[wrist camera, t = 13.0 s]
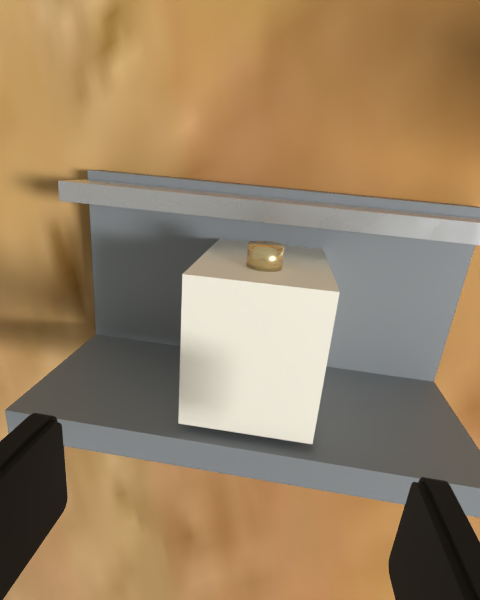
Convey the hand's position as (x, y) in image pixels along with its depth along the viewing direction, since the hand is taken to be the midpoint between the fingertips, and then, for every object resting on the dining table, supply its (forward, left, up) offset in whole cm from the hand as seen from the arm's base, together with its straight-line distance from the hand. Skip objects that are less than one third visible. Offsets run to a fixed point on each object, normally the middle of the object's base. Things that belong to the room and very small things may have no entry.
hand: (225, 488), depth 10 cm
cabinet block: (0, 0, -14) cm, 14 cm away
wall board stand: (+1, 0, -16) cm, 16 cm away
